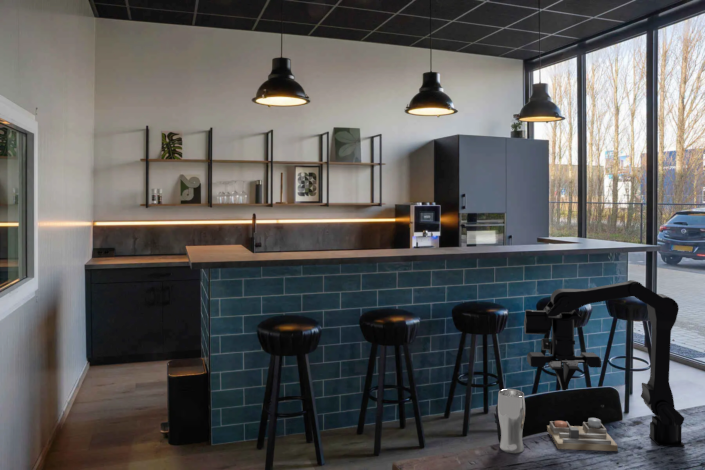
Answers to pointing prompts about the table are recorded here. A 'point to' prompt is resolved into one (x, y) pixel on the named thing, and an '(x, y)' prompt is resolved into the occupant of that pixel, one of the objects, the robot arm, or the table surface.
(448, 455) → the table surface
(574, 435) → the block
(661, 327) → the robot arm
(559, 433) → the control panel
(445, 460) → the table surface
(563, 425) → the terracotta button
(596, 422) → the grey button
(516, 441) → the beer glass
